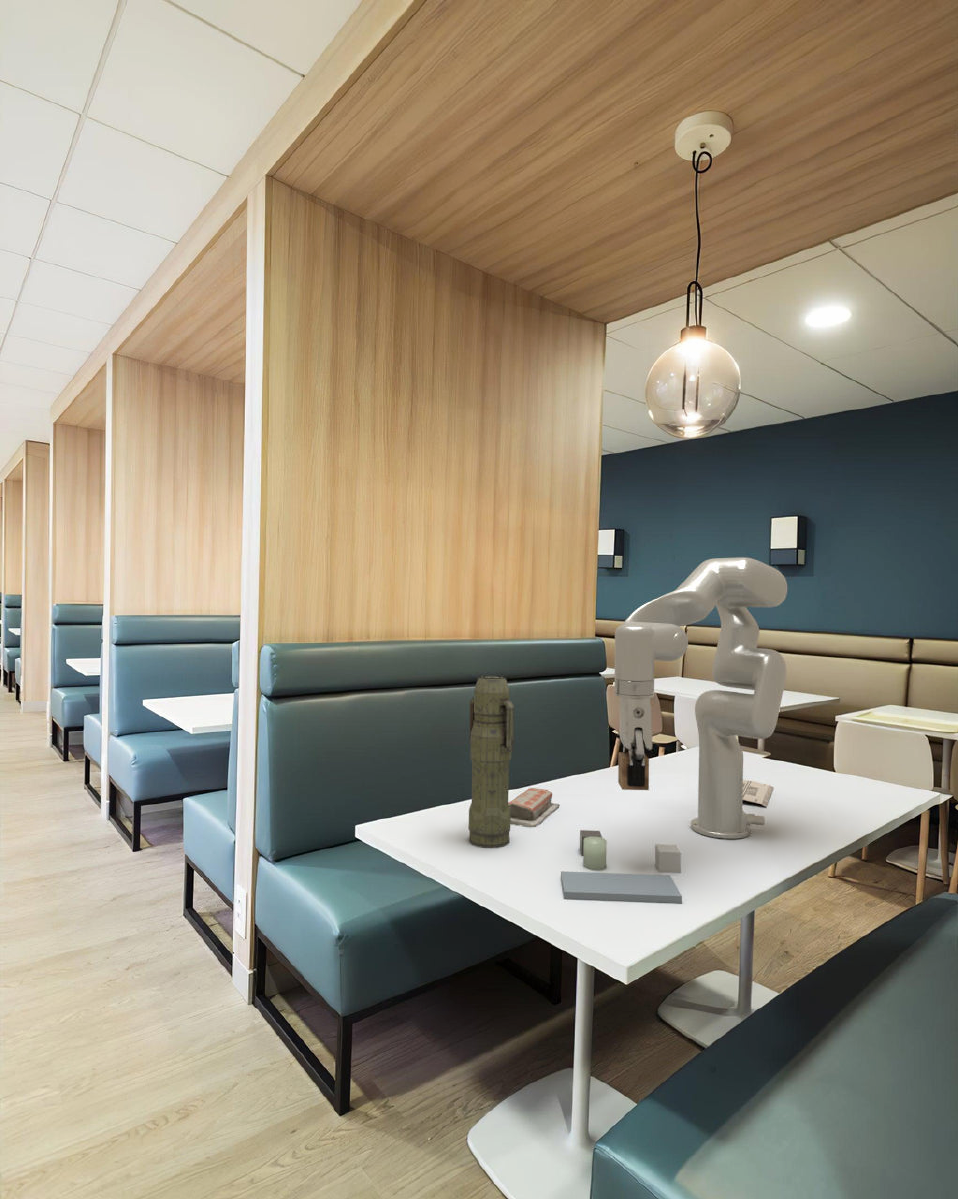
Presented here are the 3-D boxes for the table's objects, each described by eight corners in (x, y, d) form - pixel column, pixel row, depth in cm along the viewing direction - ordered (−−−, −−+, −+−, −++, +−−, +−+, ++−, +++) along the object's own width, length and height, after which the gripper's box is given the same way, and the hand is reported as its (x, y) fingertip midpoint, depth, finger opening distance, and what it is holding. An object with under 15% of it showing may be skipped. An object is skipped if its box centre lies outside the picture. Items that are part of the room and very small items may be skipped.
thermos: (480, 829, 154) (483, 673, 154) (523, 841, 146) (526, 677, 147) (454, 839, 147) (457, 676, 147) (498, 853, 140) (501, 680, 140)
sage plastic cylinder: (604, 862, 136) (605, 836, 136) (607, 871, 131) (608, 844, 131) (582, 861, 136) (582, 836, 136) (584, 870, 132) (584, 844, 132)
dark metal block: (599, 850, 143) (599, 830, 143) (601, 857, 139) (602, 837, 139) (579, 849, 143) (580, 830, 143) (581, 856, 139) (582, 836, 139)
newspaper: (727, 784, 199) (728, 775, 199) (772, 794, 193) (773, 786, 193) (714, 803, 179) (715, 794, 179) (765, 815, 173) (766, 806, 173)
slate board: (669, 882, 127) (670, 875, 127) (681, 903, 118) (682, 896, 118) (560, 877, 128) (560, 871, 128) (564, 898, 119) (564, 891, 119)
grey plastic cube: (675, 865, 135) (675, 845, 135) (680, 873, 131) (680, 852, 131) (654, 864, 135) (655, 844, 135) (659, 872, 131) (659, 851, 131)
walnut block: (643, 783, 136) (644, 752, 136) (648, 790, 131) (648, 758, 131) (618, 782, 136) (618, 752, 136) (622, 789, 131) (622, 758, 131)
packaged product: (522, 784, 176) (560, 789, 172) (522, 803, 176) (559, 809, 172) (495, 803, 160) (535, 809, 155) (494, 823, 160) (535, 830, 155)
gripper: (663, 695, 125) (662, 795, 125) (645, 683, 142) (644, 771, 142) (621, 694, 125) (620, 794, 125) (608, 682, 142) (607, 770, 142)
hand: (633, 781), depth 134 cm, fingers closed on walnut block, 5 cm apart
